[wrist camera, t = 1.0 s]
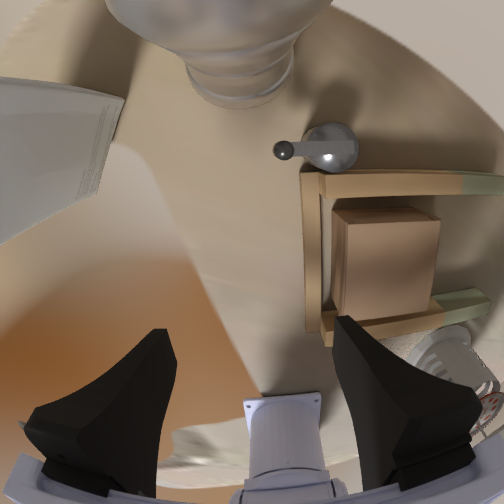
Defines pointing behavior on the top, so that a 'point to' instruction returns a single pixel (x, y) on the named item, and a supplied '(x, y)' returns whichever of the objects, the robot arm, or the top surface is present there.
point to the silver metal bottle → (225, 42)
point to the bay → (387, 184)
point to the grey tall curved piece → (460, 369)
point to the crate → (382, 261)
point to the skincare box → (50, 148)
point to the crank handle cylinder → (323, 147)
